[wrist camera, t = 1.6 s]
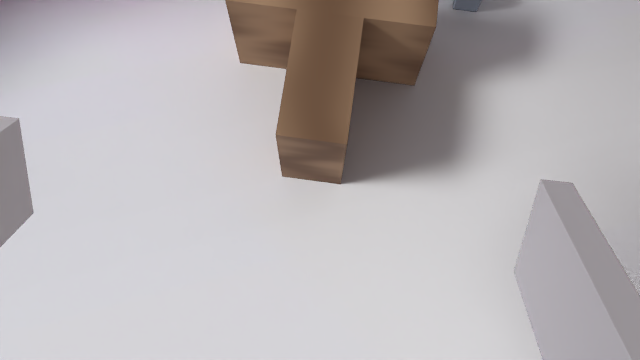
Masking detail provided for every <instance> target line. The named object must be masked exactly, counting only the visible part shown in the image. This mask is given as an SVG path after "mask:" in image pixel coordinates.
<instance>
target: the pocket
mask: <svg viewBox="0 0 640 360" xmlns="http://www.w3.org/2000/svg"><path fill="white" fill-rule="evenodd" d="M481 1H482V0H454V5H453V9H459V10H466V11H474V12H476V11H477V9H478V7H479V5H480V3H481Z"/></svg>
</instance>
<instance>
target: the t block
mask: <svg viewBox="0 0 640 360" xmlns="http://www.w3.org/2000/svg"><path fill="white" fill-rule="evenodd" d="M225 1H226V5H227V9H228V14H229V18H230V22H231V26H232V30H233V34H234V39H235V43H236V47H237V51H238V55H239V60H240V63H246V64H253V65H261V66H269V67H276V68H284V69H287V70H286V76H285V82H284V88H283V94H282V100H281V106H280V112H279V118H278V124H277V130H276V140H277V146H278V153H279V159H280V165H281V171H282V176H284V177H291V178H298V179H306V180H313V181H321V182H328V183H336V184H341V178H342V172H343V166H344V160H345V154H346V148H347V141H348V134H349V126H350V119H351V111H352V103H353V96H354V88H355V81H356V78H361V79H368V80H376V81H384V82H391V83H399V84H407V85H415V82H416V79H417V77H418V74H419V71H420V69H421V66H422V63H423V61H424V58H425V55H426V53H427V50H428V47H429V45H430V42H431V39H432V37H433V34H434V31H435V29H436V22H437V11H438V1H439V0H225Z"/></svg>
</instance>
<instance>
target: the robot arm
mask: <svg viewBox="0 0 640 360" xmlns="http://www.w3.org/2000/svg"><path fill="white" fill-rule="evenodd" d="M32 214H33V207H32V200H31V193H30V187H29V180H28V174H27V167H26V161H25V154H24V148H23V141H22V135H21V128H20V122H19V118H11V117H2V116H0V247H1V246H2V245H3V244H4V243H5V242H6V241H7V240H8V239H9V238H10V237H11V236H12V235H13V234H14V233H15V232H16V230H17V229H18V228H19V227H20V226H21V225H22V224H23V223H24V222H25V221H26V220H27V219H28V218H29V217H30V216H31V215H32ZM514 274H515V277H516V280H517V283H518V286H519V289H520V292H521V295H522V298H523V301H524V304H525V307H526V310H527V313H528V316H529V319H530V322H531V325H532V329H533V332H534V335H535V338H536V341H537V344H538V347H539V350H540V353H541V356H542V359H543V360H640V295H639V294H638V292H637V290H636V289H635V287H634V285H633V284H632V282H631V280H630V279H629V277H628V275H627V274H626V272H625V270H624V268H623V267H622V265H621V263H620V262H619V260H618V258H617V257H616V255H615V253H614V252H613V250H612V248H611V247H610V245H609V243H608V242H607V240H606V238H605V237H604V235H603V233H602V232H601V230H600V228H599V227H598V225H597V223H596V222H595V220H594V218H593V217H592V215H591V213H590V212H589V210H588V208H587V206H586V205H585V203H584V201H583V200H582V198H581V196H580V195H579V193H578V191H577V190H576V188H575V186H574V185H573V183H568V182H559V181H551V180H542V179H541V180H540V183H539V187H538V190H537V194H536V197H535V201H534V204H533V207H532V211H531V214H530V218H529V221H528V224H527V228H526V231H525V235H524V238H523V242H522V245H521V248H520V252H519V255H518V259H517V262H516V265H515V269H514Z"/></svg>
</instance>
